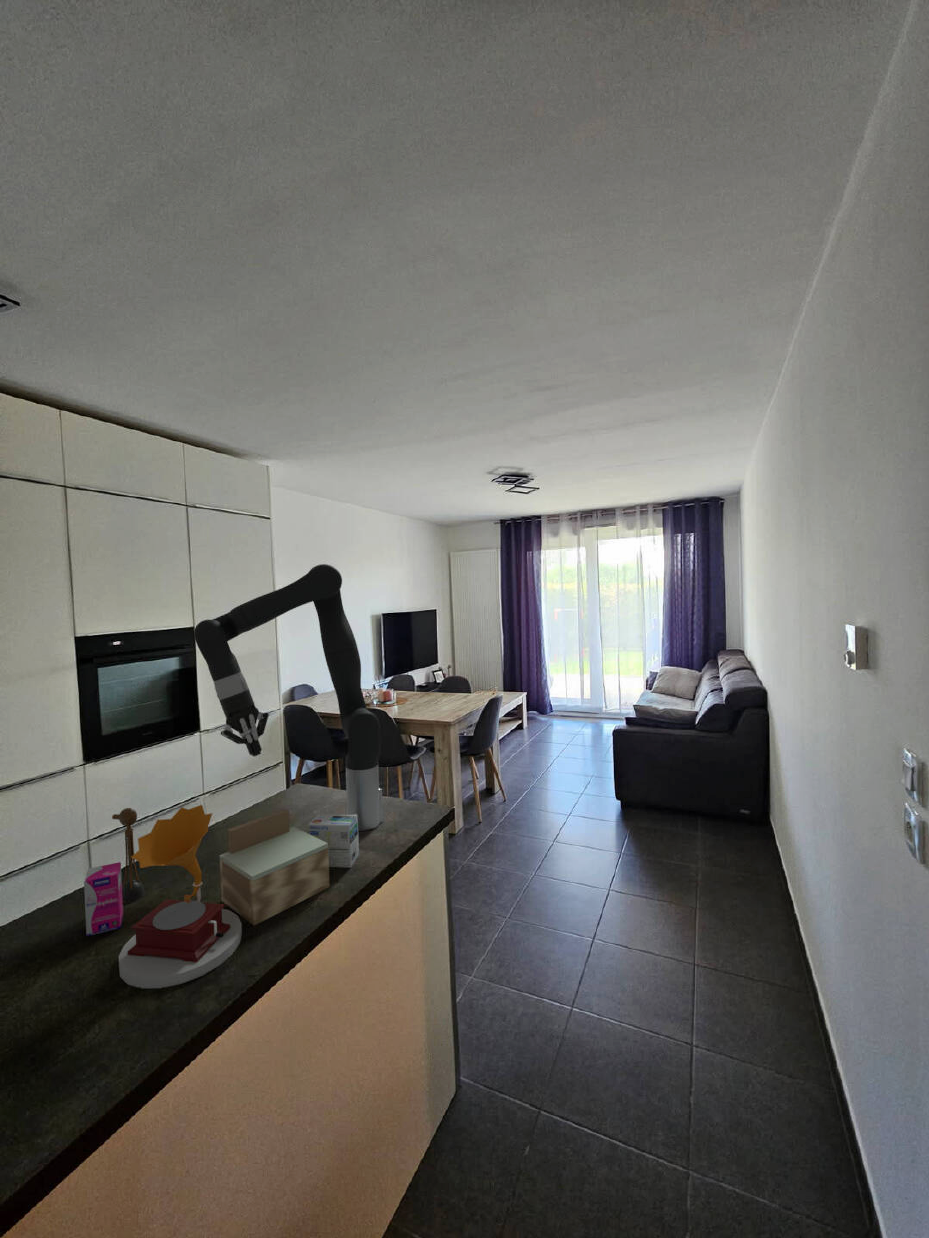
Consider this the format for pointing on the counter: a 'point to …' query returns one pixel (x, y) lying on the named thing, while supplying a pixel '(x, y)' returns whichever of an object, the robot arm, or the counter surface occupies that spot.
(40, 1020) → the counter surface
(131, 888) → the wooden tabletop sculpture
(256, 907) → the wooden box
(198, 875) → the gramophone
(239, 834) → the sliding lid
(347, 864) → the light bulb box
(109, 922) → the supplement box
